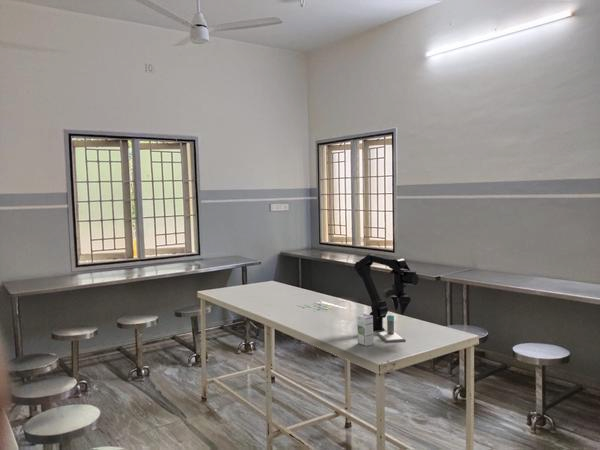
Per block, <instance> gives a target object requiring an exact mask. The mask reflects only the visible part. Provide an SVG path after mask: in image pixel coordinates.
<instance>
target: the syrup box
mask: <svg viewBox="0 0 600 450" xmlns="http://www.w3.org/2000/svg"><path fill="white" fill-rule="evenodd" d="M356 319H357V322H356V323H357V324H356V325H357V326H356V327H357V344H358V345H362V346H364V347H367V346H370V345H371V346H372V345H374V331H373V316H372V315H369V314H368V313H361V314H358V315H357V317H356Z"/></svg>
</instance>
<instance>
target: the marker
mask: <svg viewBox="0 0 600 450" xmlns="http://www.w3.org/2000/svg"><path fill="white" fill-rule="evenodd" d="M386 321H387V322H386V325H387V327H386V328H387V329H386V332H387V334H390V335H392V334H394V331H395V315H388V314H387V315H386Z"/></svg>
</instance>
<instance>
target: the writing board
mask: <svg viewBox="0 0 600 450" xmlns="http://www.w3.org/2000/svg"><path fill="white" fill-rule="evenodd" d="M376 334H377V336H378V337H379V338H380V339H381V340H382V341H384V342H385V343H387V344H388V343H390V344H391V343H401V342H406V338H404V337H403V336H402V335H401V334H400V333H398V332H397V331H395V330H394V334H392V335H390V334H387V331H383V332H382V331H378V332H377V333H376Z"/></svg>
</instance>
